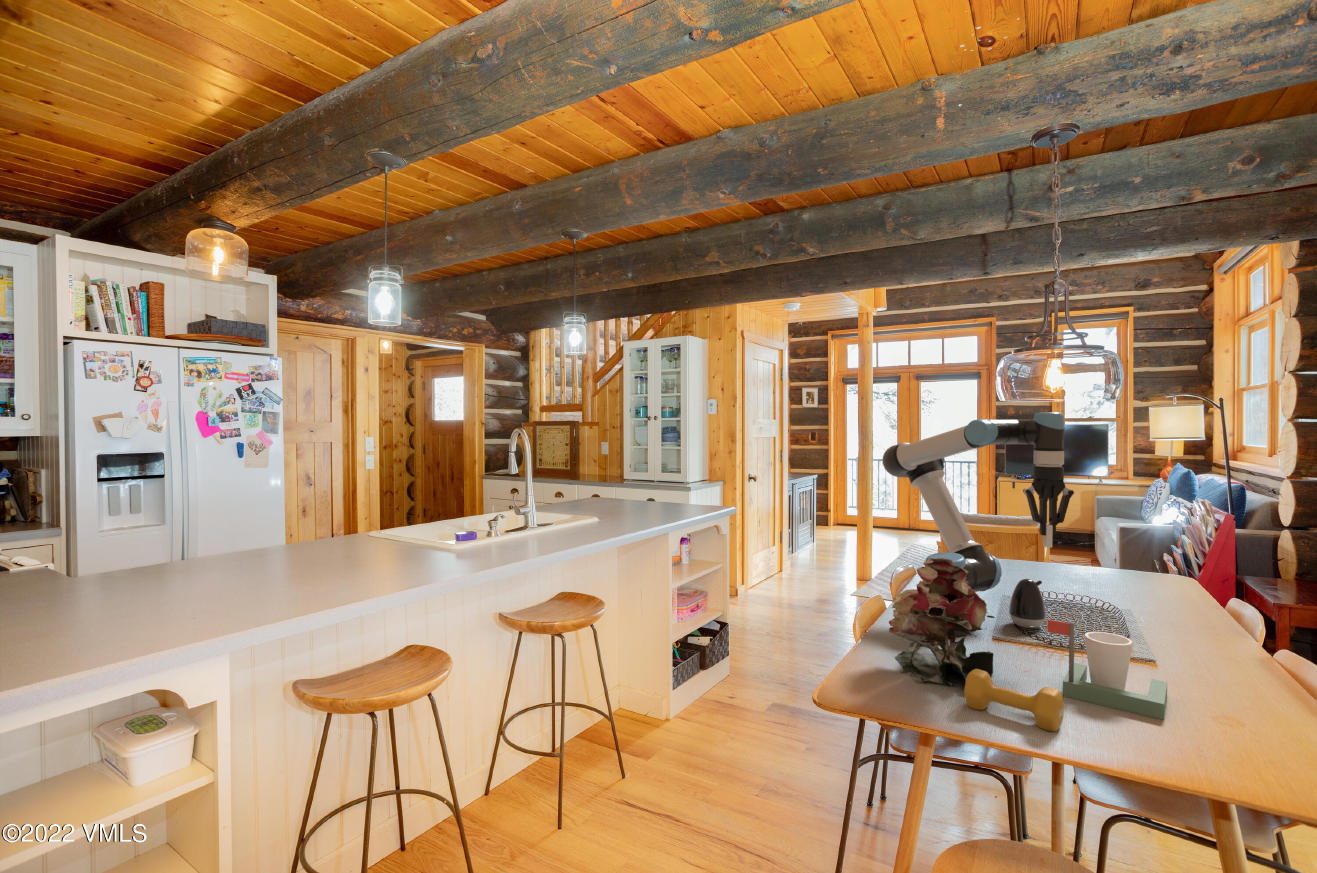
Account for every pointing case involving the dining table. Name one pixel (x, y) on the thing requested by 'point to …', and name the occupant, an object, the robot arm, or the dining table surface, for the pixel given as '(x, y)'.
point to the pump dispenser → (1027, 604)
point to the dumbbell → (1015, 699)
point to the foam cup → (1108, 658)
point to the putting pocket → (1104, 695)
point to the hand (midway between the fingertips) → (1047, 546)
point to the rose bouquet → (939, 623)
